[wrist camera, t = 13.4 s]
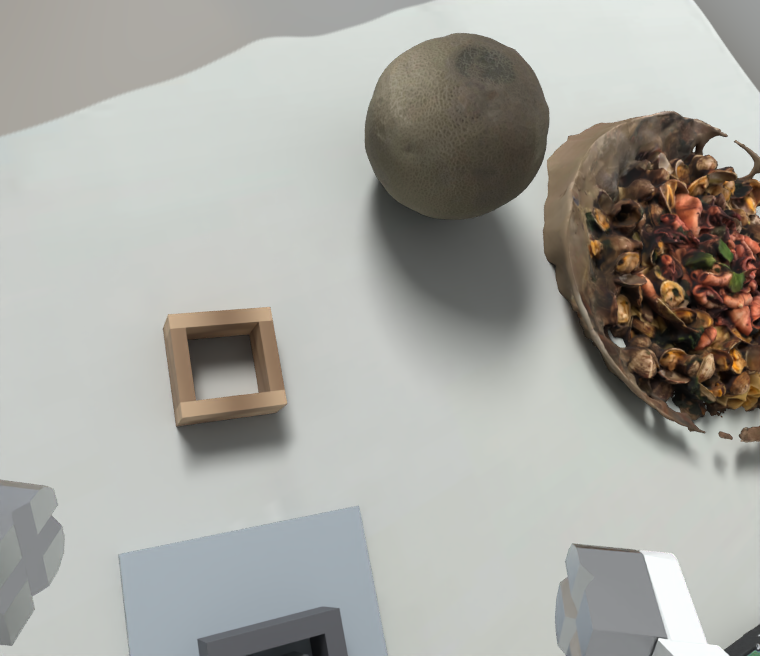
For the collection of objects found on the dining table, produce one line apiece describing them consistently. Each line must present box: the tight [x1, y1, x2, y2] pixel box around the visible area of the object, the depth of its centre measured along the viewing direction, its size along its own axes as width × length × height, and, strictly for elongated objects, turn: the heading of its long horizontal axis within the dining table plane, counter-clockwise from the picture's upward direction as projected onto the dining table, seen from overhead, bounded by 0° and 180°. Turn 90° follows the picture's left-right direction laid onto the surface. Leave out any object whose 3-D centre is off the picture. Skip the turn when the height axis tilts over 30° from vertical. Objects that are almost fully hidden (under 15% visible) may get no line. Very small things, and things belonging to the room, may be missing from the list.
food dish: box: [543, 111, 760, 442], centre depth 70 cm, size 35×33×8 cm
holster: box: [163, 307, 287, 427], centre depth 50 cm, size 7×7×3 cm
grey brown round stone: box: [365, 33, 549, 220], centre depth 56 cm, size 14×14×15 cm
